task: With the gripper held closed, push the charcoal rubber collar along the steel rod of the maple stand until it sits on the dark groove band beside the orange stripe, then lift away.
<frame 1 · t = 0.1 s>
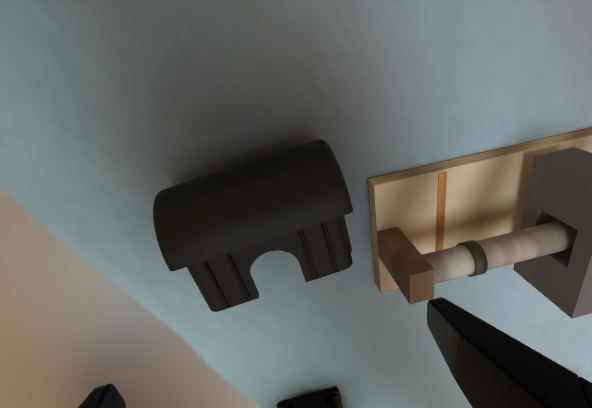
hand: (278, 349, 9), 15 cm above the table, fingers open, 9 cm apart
collar: (572, 232, 23), point 5 cm above the table, slide at 0.0 cm
pipe stand: (478, 210, 27), on the table
end cap: (256, 193, 24), on the table
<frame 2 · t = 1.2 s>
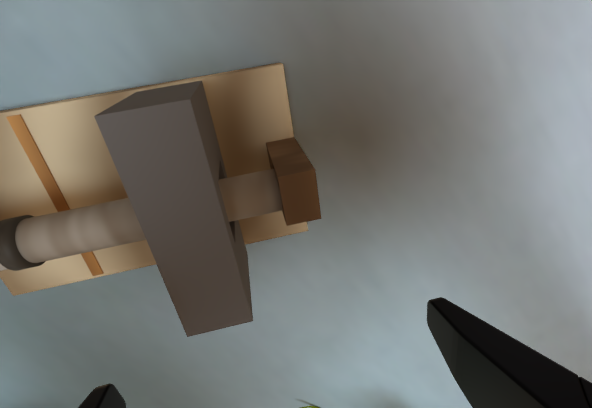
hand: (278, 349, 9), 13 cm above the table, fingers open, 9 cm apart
collar: (194, 206, 15), point 5 cm above the table, slide at 0.0 cm
pipe stand: (142, 181, 19), on the table
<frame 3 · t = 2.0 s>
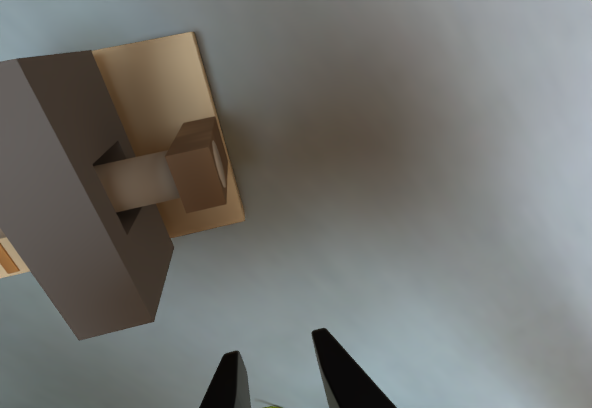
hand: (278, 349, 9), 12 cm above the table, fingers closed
collar: (85, 194, 14), point 5 cm above the table, slide at 0.0 cm
pipe stand: (54, 169, 18), on the table
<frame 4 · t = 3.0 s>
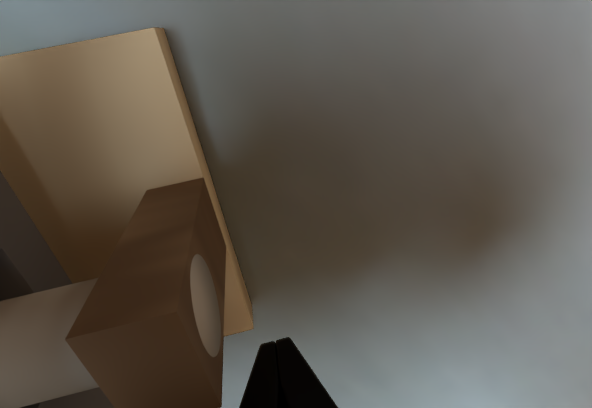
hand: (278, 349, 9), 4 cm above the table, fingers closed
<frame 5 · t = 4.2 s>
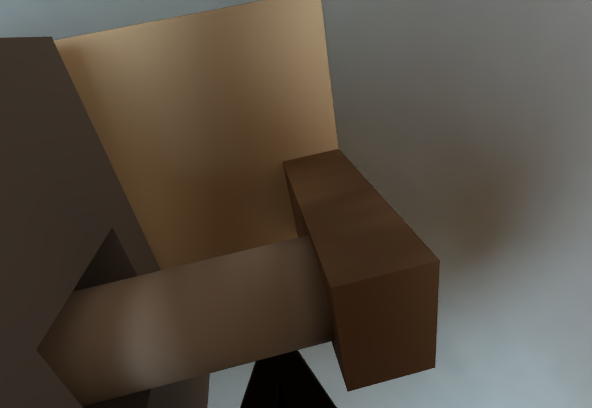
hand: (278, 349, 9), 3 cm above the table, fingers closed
collar: (38, 356, 6), point 5 cm above the table, slide at 1.4 cm, touching gripper
pipe stand: (51, 236, 10), on the table
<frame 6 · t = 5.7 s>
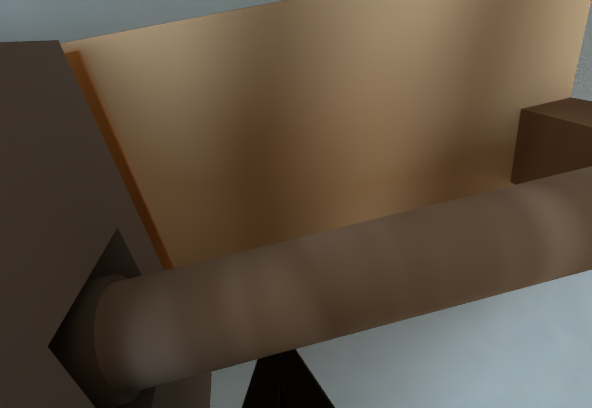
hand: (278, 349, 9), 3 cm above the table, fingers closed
collar: (45, 354, 6), point 5 cm above the table, slide at 8.5 cm, touching gripper
pipe stand: (278, 185, 11), on the table
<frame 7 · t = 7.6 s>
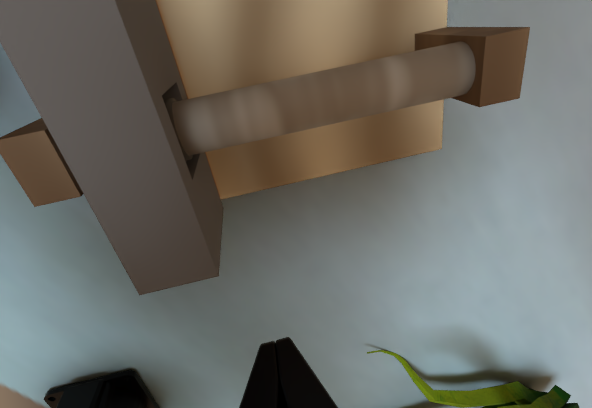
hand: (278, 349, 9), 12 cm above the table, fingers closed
collar: (144, 137, 13), point 5 cm above the table, slide at 8.5 cm
pipe stand: (265, 88, 17), on the table
decorative plant: (403, 399, 33), on the table
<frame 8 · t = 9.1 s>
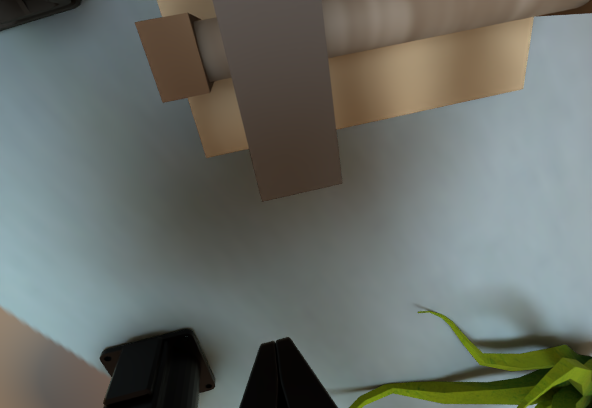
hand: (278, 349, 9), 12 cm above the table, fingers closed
collar: (267, 40, 12), point 5 cm above the table, slide at 8.5 cm
pipe stand: (355, 19, 17), on the table
decorative plant: (447, 368, 32), on the table
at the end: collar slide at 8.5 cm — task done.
